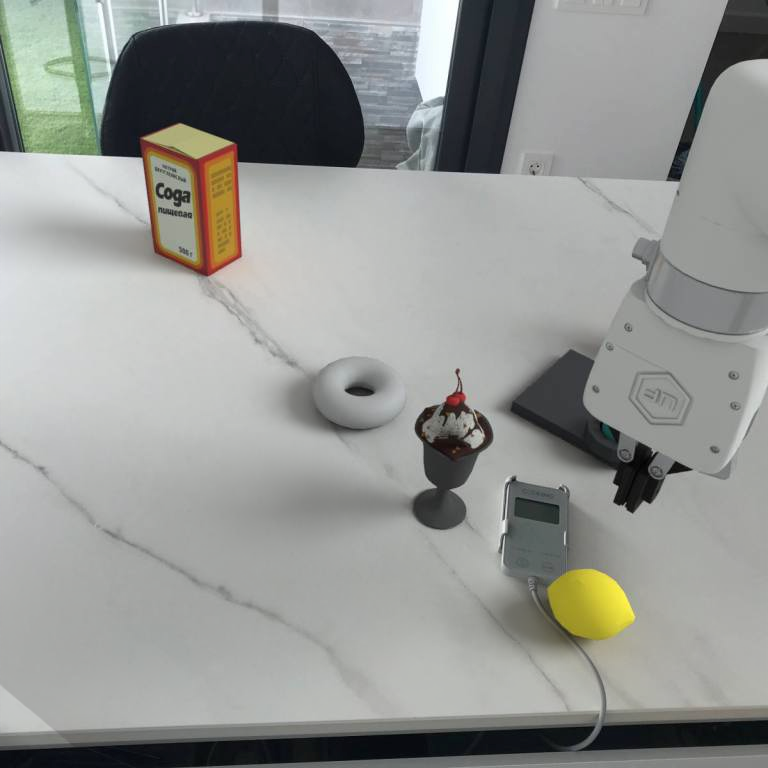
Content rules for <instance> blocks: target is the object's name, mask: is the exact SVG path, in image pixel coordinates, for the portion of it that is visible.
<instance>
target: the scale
mask: <svg viewBox="0 0 768 768" xmlns="http://www.w3.org/2000/svg"><path fill="white" fill-rule="evenodd" d="M594 362H595V360H594V359H592V358H590V357H588V356H586V355H585V354H582V353H580V352H578V351H576V350H574V349H572V348H570V349H569V350H568V351H566V352H565V353H564V354H563V355H561V357H560V358H559V359H558V360H557V361H556V362H555V363H553V364H552V365H551V366H550V367H549V368H548V369H547V370H546V371H545V372H543V373H542V374H541V375H540V376H539V377H538V378H537V379H536V380H534V381H533V382H532V383H531V384H530V385H529V386H528V387H527V388H525V389H524V390H523V391H522V392H521V393H520V394H519V395H518V396H517V397H516V398H514V399H513V400H512V402H511V406H510V412H511V413H514V414H516V415H517V416H519V417H521V418H523V419H524V420H527V422H529V423H532V424H533V425H536V426H537V427H539V428H541V429H543V430H544V431H547V432H548V433H550V434H552V435H554V436H555V437H557V438H559V439H561V440H563V441H565V442H567V443H569V444H570V445H572V446H574V447H576V448H577V449H579V450H581V451H583V452H585V453H586V454H588V455H590V456H592V457H594V458H595V459H597V460H600V461H601V462H603V463H605V464H607V465H608V466H611V467H612V468H614V469H615V470H617V469H618V466H619V464H620V461H621V459H620V458H619V457H618V455H617V449H618V445H617V443H616V442H614V441H612V440H610V439H609V438H607V437H606V436H605V435H604V434H603V432H602V426H603V422H602V421H600V420H598V419H597V418H595V417H594V416H593V415H592V414H591V413H590V412H589V411H588V410H587V409H586V407H585V406H584V403H583V395H584V390H585V387H586V384H587V381H588V378H589V375H590V372H591V370H592V367H593V365H594Z"/></svg>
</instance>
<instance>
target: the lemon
mask: <svg viewBox="0 0 768 768" xmlns="http://www.w3.org/2000/svg"><path fill="white" fill-rule="evenodd" d="M547 597H548V601H549V605H550V608H551V611H552V614H553V617H554V618H555V619H556V621H557V622H558V623H559V625H560V626H561V627H563V629H565V630H566V631H568V632H569V633H570V634H572V635H573V636H576V637H580V638H586V639H588V640H593V641H598V642H599V641H603V640H608V639H611V638H613V637H615V636H616V635H618V634H619V633H620V632H622V631H623V630H625V629H626V628H627V627H629V626H630V625H631V624H633V623H634V622H635V619H636V616H635V613H634V611H633V609H632V606H631V604H630V602H629V600H628V597H627V595H626V593H625V591H624V590H623V589H622V587H621V586H620V585H619V584H618V582H617V581H616V580H614V579H613V578H612V577H611V576H608V574H606V573H603V572H601V571H599V570H597V569H594V568H580V569H571V570H568V571H566V572H564V573H563V574H562V575H560V576H559V577H558V578H557V579H555V580H554V581H553V582H551V583H550V585H548V586H547Z"/></svg>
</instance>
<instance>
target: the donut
mask: <svg viewBox="0 0 768 768" xmlns="http://www.w3.org/2000/svg"><path fill="white" fill-rule="evenodd" d="M353 388H363V389H368V390H369V391H372V392H373V393H372V394H370V395H366V396H365V395H363V396H361V395H358V396H357V395H354V394H350V393H348V392H347V390H349V389H353ZM311 392H312V394H311V396H312V399H313V402H314V404H315V407H316V409H317V410H318V412H320V413H321V415H322V416H324V417H325V418H326V419H327V420H328V421H330V422H332V423H334V424H336V425H338V426H341V427H345V428H349V429H353V430H368V429H373V428H378V427H382V426H384V425H386V424H388V423H390V422H392V421H394V419H395V418H396V417H398V416H399V414H401V412H402V411H403V409H404V407H405V405H406V402H407V399H408V396H407V385H406V383H405V381H404V379H403V377H402V376H401V374H400V372H398V371H397V369H395V368H393V367H392V365H390V364H388V363H386V362H384V361H382V360H380V359H378V358H373V357H368V356H347V357H340V358H339V359H336V360H334V361H332V362H329V363H328V364H326V365H325V366H324V367H323V368H321V369H320V370H319V372H318V373H317V375H316V376H315V378H314V380H313V383H312V391H311Z"/></svg>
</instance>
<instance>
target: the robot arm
mask: <svg viewBox="0 0 768 768" xmlns="http://www.w3.org/2000/svg"><path fill="white" fill-rule="evenodd" d="M700 116H701V117H700V119H699V122H698V125H697V128H696V131H695V134H694V137H693V139H692V143H691V145H690V149H689V152H688V156H687V157H686V158H687V159H686V162H685V163H684V167H683V171H682V174H681V177H680V181H679V183H678V186H677V189H676V192H675V194H674V198H673V201H672V204H671V207H670V211H669V214H668V215H667V216H668V217H667V219H666V222H665V226H664V229H663V232H662V235H661V238H660V239H658V240H657V239H651V240H650V239H648V238H645V237H643V236H641V237H640V238H638V239H637V241H636V242H635V244H634V246H633V249H632V251H631V257H632V258H633V259H636V260H637V261H640V262H641V264H642V265H644V266H645V271H646V273H645V275H644V276H642V277H641V278H639V279H637V280H636V281H634V282H633V283H632V284H631V285H630V287H629V288H628V290H627V292H626V293H625V295H624V297H623V298H622V300H621V302H620V305H619V306H618V308H617V310H616V312H615V314H614V317H613V318H612V320H611V322H610V325H609V327H608V329H607V331H606V333H605V336H604V338H603V341H602V342H601V345H600V347H599V350H598V352H597V355H596V357H595V360H594V361H595V362H594V365H593V367H592V370H591V372H590V375H589V378H588V381H587V384H586V387H585V390H584V395H583V403H584V406H585V407H586V409H587V410H588V411H589V412H590V413H591V414H592V415H593V416H594V417H595V418H597V419H598V420H600V421H602V422H603V423H605V424H607V426H608V428H609V430H610V432H611V433H612V435H613V437H614V439H615V441H616V443H617V445H618V449H617V455H618V457H619V458H620V459H621V461H620V464H619V466H618V469H616V472H615V475H614V477H613V481H612V484H613V485H615V486H617V490H616V493H615V495H614V497H613V501H612V503H613V504H615V505H617V506H619V507H621V506H622V507H624V508H625V510H626V511H627V512H629V513H631V514H632V515H633V514H635V512H636V511H637V510H638V509H639V507H640V506H641V505H642V504H643V502H645V503H647V504H648V505H652V503H653V502H654V501H655V500H656V498H657V497H658V495H659V493H660V491H661V489H662V486H663V484H664V483H665V479H666V477H667V476H669V475H673V474H680V473H686V472H692V471H696V472H698V473H700V474H703V475H705V476H709V477H712V478H715V479H718V480H724V481H726V480H728V479H730V477H731V475H732V474H733V473H734V471H735V470H736V468H737V463H738V457H739V447H740V445H741V443H742V442H743V441H744V440H745V439H746V437H747V436H748V434H749V432H750V430H751V428H752V426H753V424H754V422H755V420H756V418H757V414H758V412H759V410H760V407H761V405H762V402H763V399H764V397H765V394H766V391H767V388H768V58H759V59H751V60H749V59H748V60H744V61H739V62H737V63H735V64H732V65H730V66H729V67H727V68H726V69H724V71H723V72H721V73H720V75H718V77H717V78H716V79H715V80H714V83H713V85H712V86H711V88H710V91H709V93H708V95H707V98H706V101H705V102H704V106H703V110H702V111H701V115H700ZM653 450H654V451H655V452H654V451H653Z"/></svg>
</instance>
